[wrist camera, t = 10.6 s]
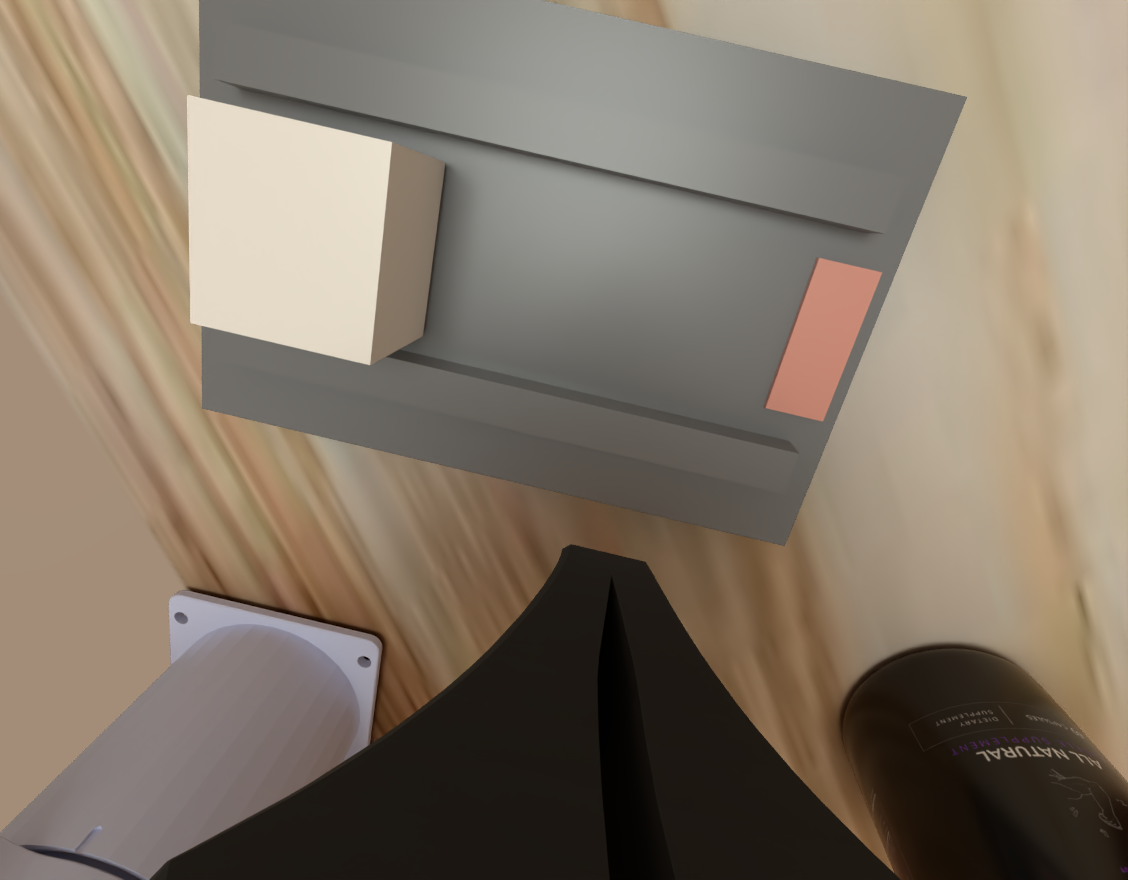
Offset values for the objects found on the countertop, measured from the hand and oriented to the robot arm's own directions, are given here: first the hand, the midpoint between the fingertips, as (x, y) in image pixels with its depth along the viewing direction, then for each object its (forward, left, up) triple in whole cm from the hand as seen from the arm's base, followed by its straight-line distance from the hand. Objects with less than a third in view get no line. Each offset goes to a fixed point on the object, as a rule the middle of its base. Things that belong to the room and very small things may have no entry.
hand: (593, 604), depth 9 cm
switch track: (+4, +3, -9) cm, 11 cm away
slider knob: (+4, +7, -8) cm, 11 cm away
